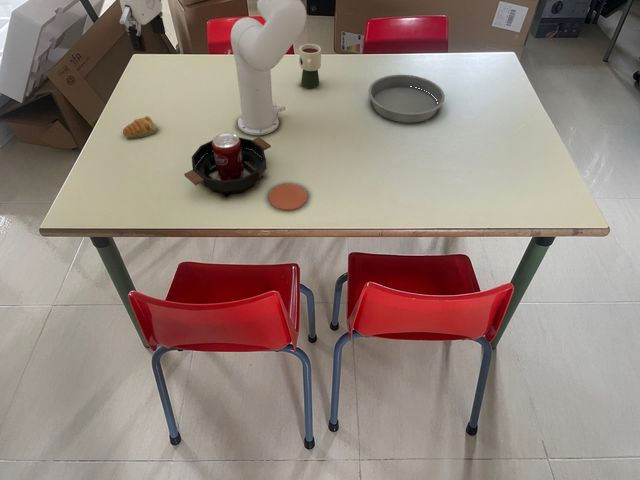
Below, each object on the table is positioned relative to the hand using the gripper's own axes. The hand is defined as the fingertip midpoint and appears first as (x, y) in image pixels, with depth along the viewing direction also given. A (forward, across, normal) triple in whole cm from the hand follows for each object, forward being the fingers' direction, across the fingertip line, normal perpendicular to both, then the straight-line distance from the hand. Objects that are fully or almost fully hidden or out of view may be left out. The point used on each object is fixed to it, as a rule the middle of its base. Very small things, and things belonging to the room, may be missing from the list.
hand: (150, 41), depth 116 cm
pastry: (+31, +4, +13) cm, 34 cm away
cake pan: (+32, +41, -62) cm, 81 cm away
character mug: (+32, +44, -29) cm, 62 cm away
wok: (+31, -9, -20) cm, 38 cm away
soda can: (+31, -9, -20) cm, 38 cm away
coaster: (+31, -13, -38) cm, 51 cm away
